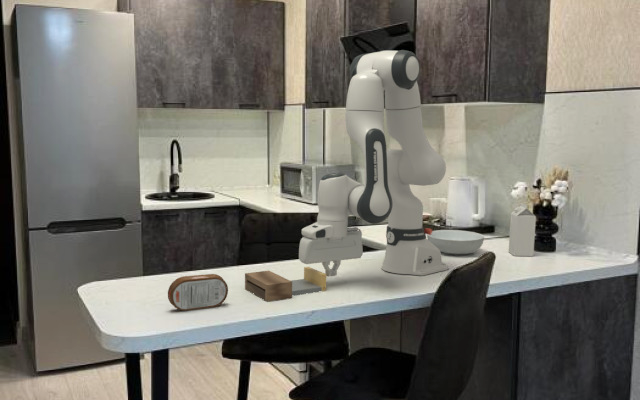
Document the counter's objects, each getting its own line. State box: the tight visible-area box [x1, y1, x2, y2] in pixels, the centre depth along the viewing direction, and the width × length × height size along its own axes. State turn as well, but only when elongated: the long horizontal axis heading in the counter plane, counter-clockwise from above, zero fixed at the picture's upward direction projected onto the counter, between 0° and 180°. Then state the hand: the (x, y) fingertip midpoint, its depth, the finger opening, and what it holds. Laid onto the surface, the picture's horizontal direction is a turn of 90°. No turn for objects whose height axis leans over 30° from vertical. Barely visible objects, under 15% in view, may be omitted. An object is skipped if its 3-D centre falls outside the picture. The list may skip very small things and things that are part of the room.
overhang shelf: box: [244, 270, 293, 302], centre depth 165 cm, size 8×14×4 cm, turn 31°
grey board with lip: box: [291, 266, 327, 296], centre depth 170 cm, size 11×10×5 cm
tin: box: [167, 273, 229, 312], centre depth 151 cm, size 15×3×8 cm, turn 118°
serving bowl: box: [426, 229, 485, 256], centre depth 225 cm, size 21×21×7 cm
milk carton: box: [508, 202, 537, 257], centre depth 223 cm, size 7×7×19 cm
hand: (331, 275), depth 176 cm, fingers closed
